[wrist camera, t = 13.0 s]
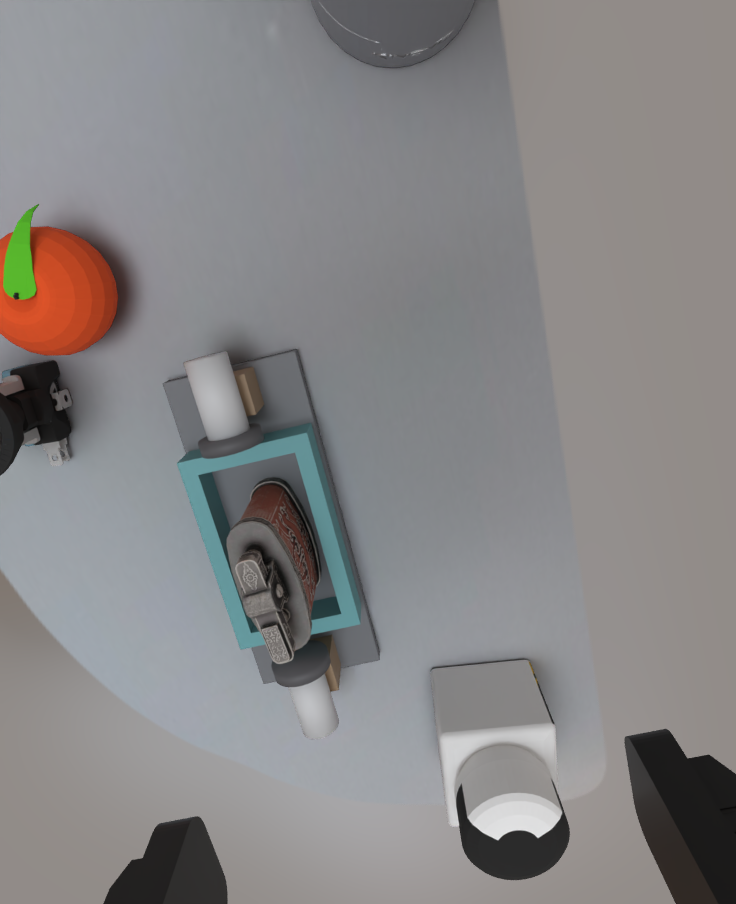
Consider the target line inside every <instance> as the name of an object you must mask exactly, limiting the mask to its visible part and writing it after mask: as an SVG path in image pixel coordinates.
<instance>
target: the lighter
mask: <svg viewBox="0 0 736 904" xmlns="http://www.w3.org/2000/svg"><path fill="white" fill-rule="evenodd" d="M226 545H227V550H228V555H229V561H230V566H231V571H232V574H233V577H234V580H235V583H236V586H237V589H238V592H239V595H240V598H241V600H242V604H243V607H244V610H245V612H246V615H247V616H248V617H249V618H251V619H252V621H253V623H254V624H255V626H256V627H257V629H258V630H259V632H260V633H261V635H262V636H263V639H264V641H265V644H266V646H267V648H268V651H269V653H270V656H271V658H272V660H273V661H274V662H275V663H277V664H283V663H287V662H289V661H291V660H292V659H293V656H294V652H295V650H298V649H300V648H302V647H303V646H304V645H305V644H306V643H307V642H308V640H309V638H310V636H311V630H312V621H311V611H312V606H313V600H314V595H315V589H316V587H317V586H318V584H319V582H320V579H321V571H322V569H321V562H320V556H319V549H318V545H317V542H316V539H315V535H314V532H313V528H312V525H311V523H310V521H309V519H308V517H307V514H306V512H305V510H304V508H303V506H302V504H301V502H300V501H299V499H298V497H297V496H296V494H295V492H294V491H293V489H292V487H291V486H290V485H289V483H288V482H287V481H285V480H283V479H281V478H277V477H269V478H265V479H263V480H261V481H259V482H258V483H257V484H256V485H255V487H254V489H253V491H252V493H251V495H250V503H249V504H248V506H247V508H246V510H245V512H244V514H243V516H242V518H241V519H240V521H238V522H237V523H236V524H235V525H234V526H233V527H232V529H231V531H230V533H229V535H228V537H227V544H226Z"/></svg>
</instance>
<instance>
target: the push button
mask: <svg viewBox="0 0 736 904" xmlns="http://www.w3.org/2000/svg"><path fill="white" fill-rule="evenodd" d="M59 374H60V373H59V369H58V365H57V363H56V362H55V361H48V362H42V363H36V364H31V365H25V366H20V367H17V368H13V369H9V370H6V371H3V372H2V378H3V383H2V384H0V475H2V474H3V473H4V472H5V471H6V470H7V469H8V468H9V466H10V465H11V464H12V463H13V461H14V459H15V457H16V455H17V453H18V451H19V449H20V447H21V445H23V444H24V445H25V446H33V445H39V444H42V446H43V449H44V450H46V451H47V454H48V457H49V460H50V464H51V466H58V465H63V461H69V460H70V457H69V453H68V450H67V447H66V444H68V443H67V439H66V437H68V436H69V434H70V433H71V427H70V424H69V421H68V417H67V414H66V411H65V408H67V407H69V406H71V405H72V401H71V397H70V394H69V391H68V390H67V389H64V390H61V391H59V388H58V385H57V381H56V378H57V377H58V376H59ZM64 395H66V396H67V402H66V401H65V399H64ZM60 451H63V452H64V453H65V456H64V457H62V456H61V453H60ZM53 455H56V456H57V461H54V460H53V458H52V456H53Z"/></svg>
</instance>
